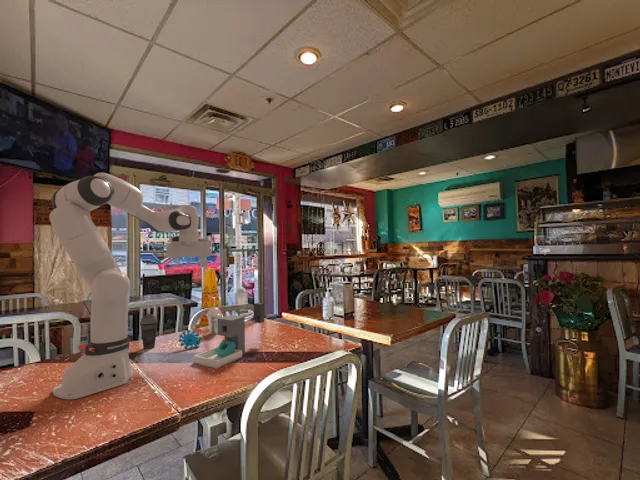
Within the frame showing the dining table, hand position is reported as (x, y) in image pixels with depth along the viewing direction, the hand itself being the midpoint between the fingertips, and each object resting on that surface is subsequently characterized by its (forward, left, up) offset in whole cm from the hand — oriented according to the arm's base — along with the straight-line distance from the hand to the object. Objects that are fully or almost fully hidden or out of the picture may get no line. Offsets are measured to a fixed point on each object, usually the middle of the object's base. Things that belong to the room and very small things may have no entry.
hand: (189, 266), depth 154 cm
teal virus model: (-5, -7, -37) cm, 38 cm away
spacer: (-9, -31, -35) cm, 48 cm away
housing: (-4, -31, -37) cm, 48 cm away
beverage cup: (-14, +10, -37) cm, 41 cm away
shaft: (+6, -31, -27) cm, 42 cm away
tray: (-11, -31, -37) cm, 50 cm away
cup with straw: (+18, +2, -37) cm, 41 cm away
